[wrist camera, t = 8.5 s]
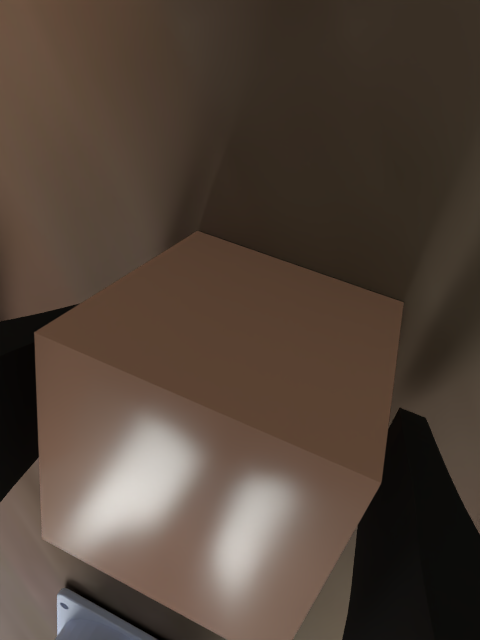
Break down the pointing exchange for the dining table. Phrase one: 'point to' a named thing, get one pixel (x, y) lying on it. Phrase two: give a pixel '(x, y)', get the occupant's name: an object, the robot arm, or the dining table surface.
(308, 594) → the tan cardboard cube
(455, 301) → the dining table surface
